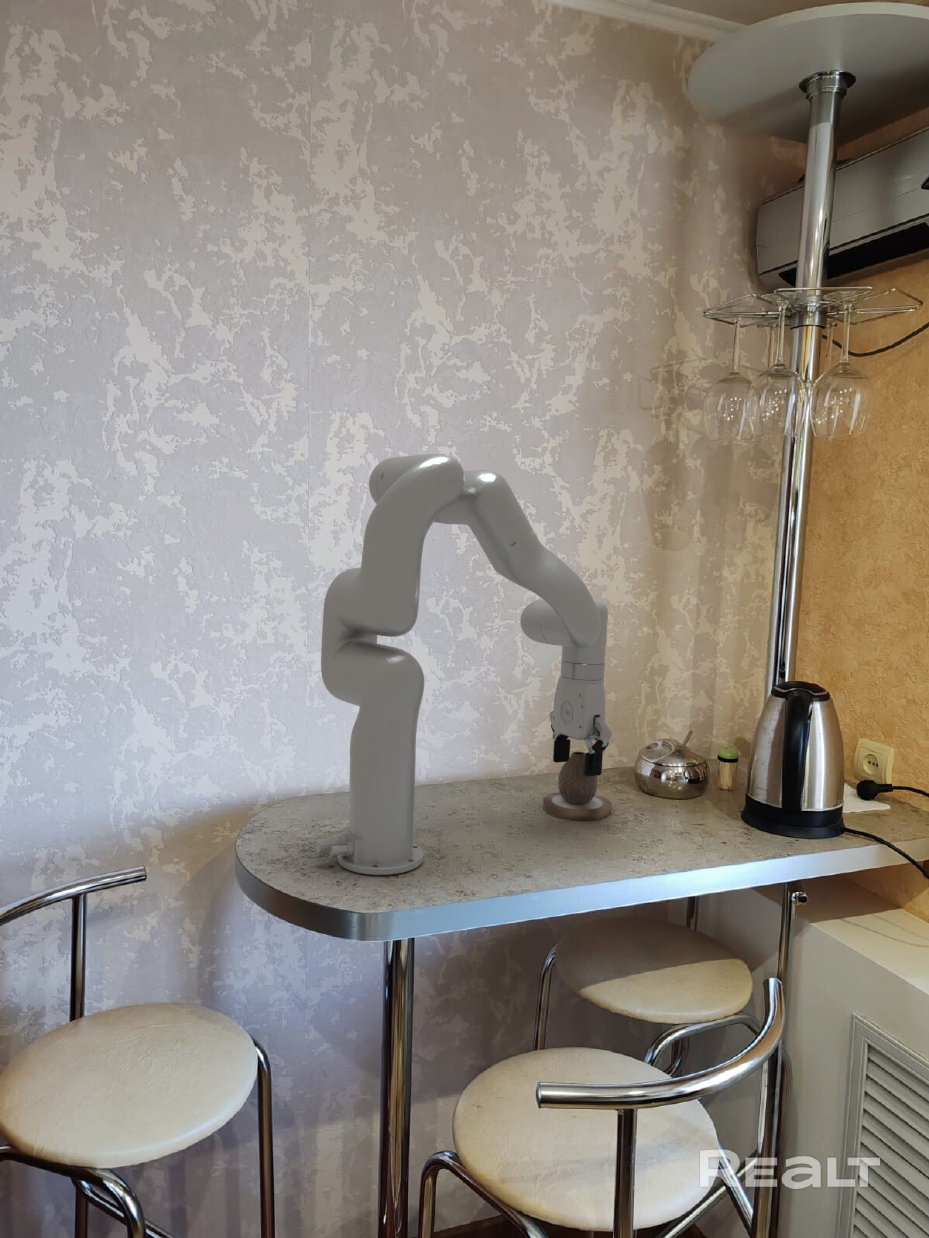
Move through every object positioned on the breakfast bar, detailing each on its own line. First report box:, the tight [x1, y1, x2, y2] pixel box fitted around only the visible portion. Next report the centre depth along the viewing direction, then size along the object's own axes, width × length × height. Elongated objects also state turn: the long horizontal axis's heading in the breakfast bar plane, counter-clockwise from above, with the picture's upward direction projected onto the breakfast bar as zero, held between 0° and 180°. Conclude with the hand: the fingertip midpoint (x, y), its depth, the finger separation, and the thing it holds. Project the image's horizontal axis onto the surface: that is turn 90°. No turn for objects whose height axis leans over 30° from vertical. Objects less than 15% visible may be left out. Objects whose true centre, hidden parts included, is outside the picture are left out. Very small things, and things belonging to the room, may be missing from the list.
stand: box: [542, 792, 613, 822], centre depth 157 cm, size 12×12×2 cm
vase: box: [557, 751, 599, 805], centre depth 157 cm, size 7×7×9 cm
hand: (576, 768), depth 156 cm, fingers open, 9 cm apart
